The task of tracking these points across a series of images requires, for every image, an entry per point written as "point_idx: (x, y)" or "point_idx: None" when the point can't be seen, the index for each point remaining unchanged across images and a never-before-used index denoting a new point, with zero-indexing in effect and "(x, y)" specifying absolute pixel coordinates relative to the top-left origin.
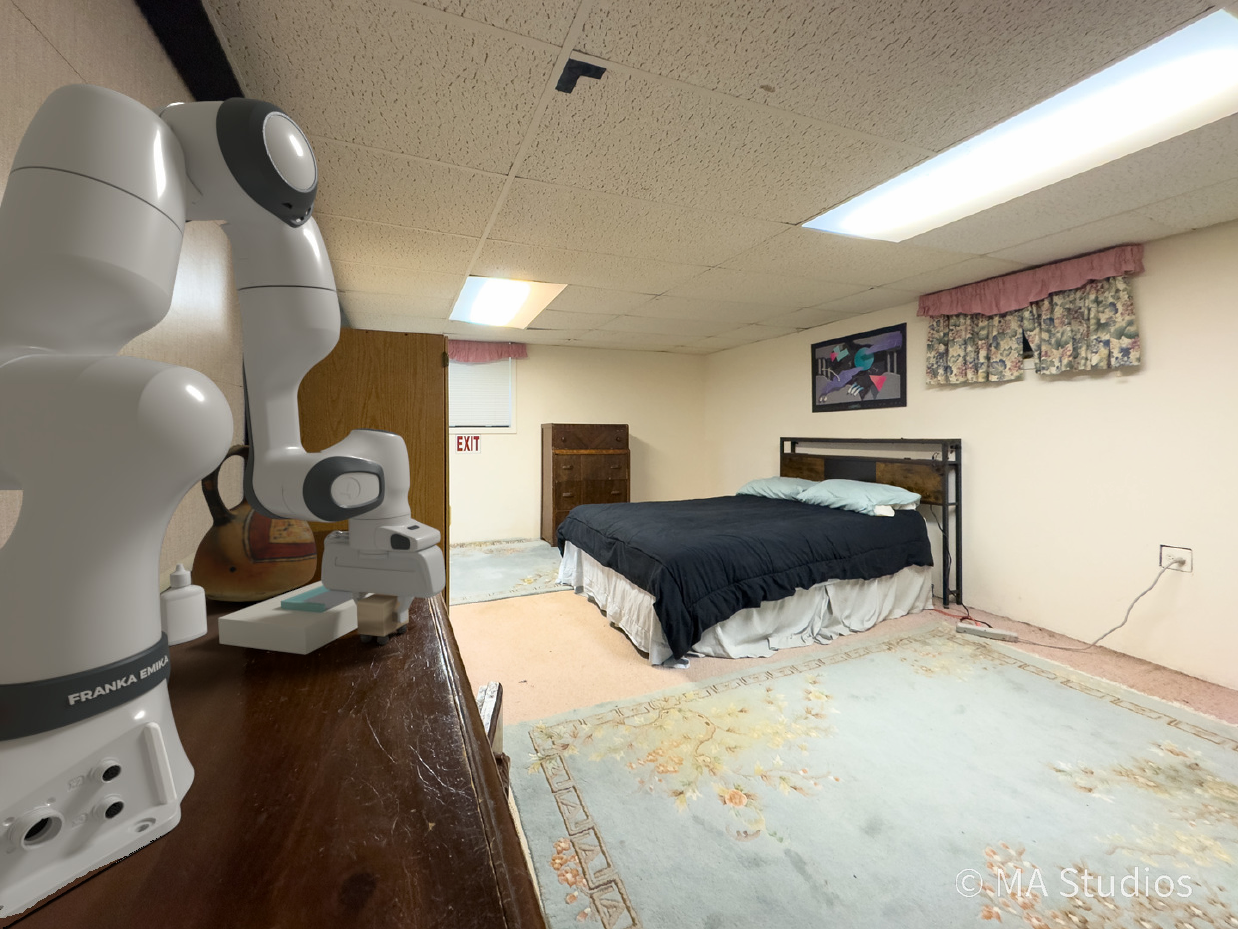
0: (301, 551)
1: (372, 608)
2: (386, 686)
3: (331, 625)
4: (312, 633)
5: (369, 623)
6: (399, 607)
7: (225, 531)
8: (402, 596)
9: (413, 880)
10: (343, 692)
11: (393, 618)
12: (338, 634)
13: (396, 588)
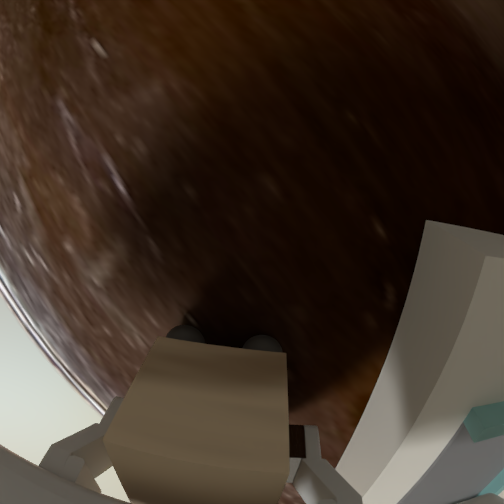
0: None
1: (179, 435)
2: (16, 75)
3: (414, 370)
4: (450, 281)
5: (216, 380)
6: (91, 439)
7: None
8: (50, 470)
9: None
10: (98, 4)
11: None
12: (388, 366)
13: (34, 499)
